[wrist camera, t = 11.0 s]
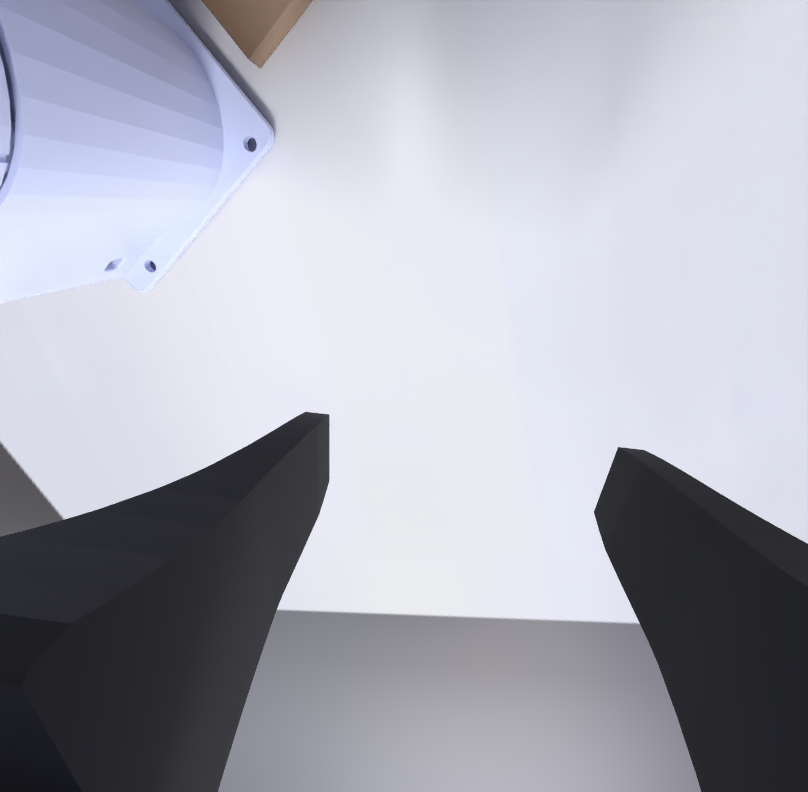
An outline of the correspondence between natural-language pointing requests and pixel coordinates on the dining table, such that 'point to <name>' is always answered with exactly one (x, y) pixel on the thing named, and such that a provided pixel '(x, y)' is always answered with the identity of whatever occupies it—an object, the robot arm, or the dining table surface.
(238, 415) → the dining table surface
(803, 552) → the robot arm
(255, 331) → the dining table surface
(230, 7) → the board
